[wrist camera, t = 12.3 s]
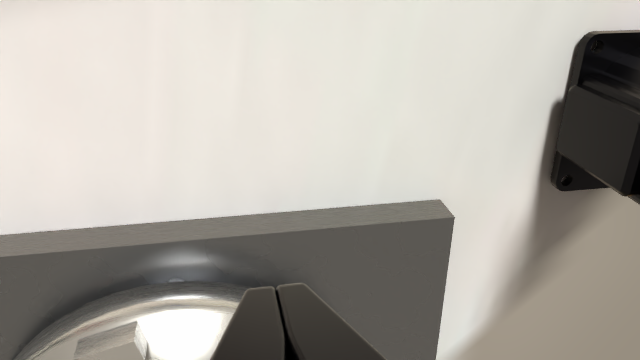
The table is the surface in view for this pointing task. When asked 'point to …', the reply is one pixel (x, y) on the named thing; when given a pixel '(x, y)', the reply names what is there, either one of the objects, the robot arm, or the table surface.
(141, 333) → the grey rounded piece
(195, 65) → the table surface
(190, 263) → the cap housing
